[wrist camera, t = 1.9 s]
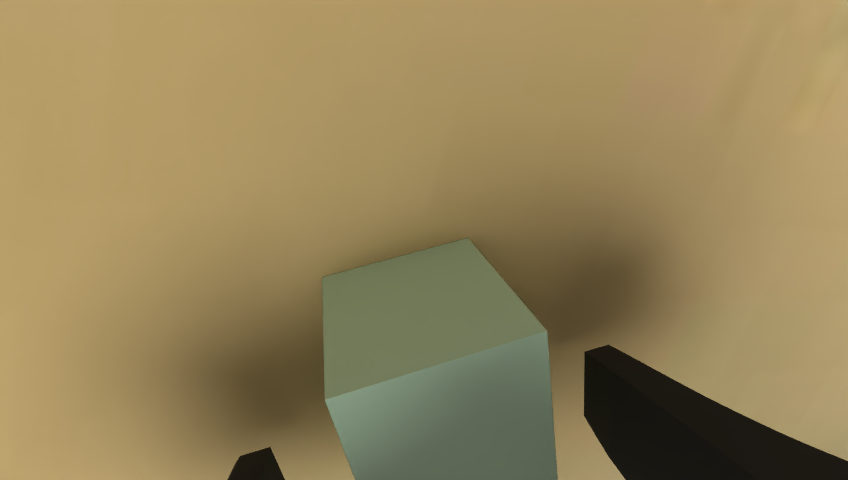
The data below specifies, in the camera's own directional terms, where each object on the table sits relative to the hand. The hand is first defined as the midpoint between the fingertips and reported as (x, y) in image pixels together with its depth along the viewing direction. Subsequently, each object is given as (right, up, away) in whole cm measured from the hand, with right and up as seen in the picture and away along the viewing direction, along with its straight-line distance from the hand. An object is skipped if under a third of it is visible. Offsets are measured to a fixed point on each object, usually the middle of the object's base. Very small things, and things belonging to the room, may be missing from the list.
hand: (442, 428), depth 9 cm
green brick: (0, +1, +2) cm, 2 cm away
